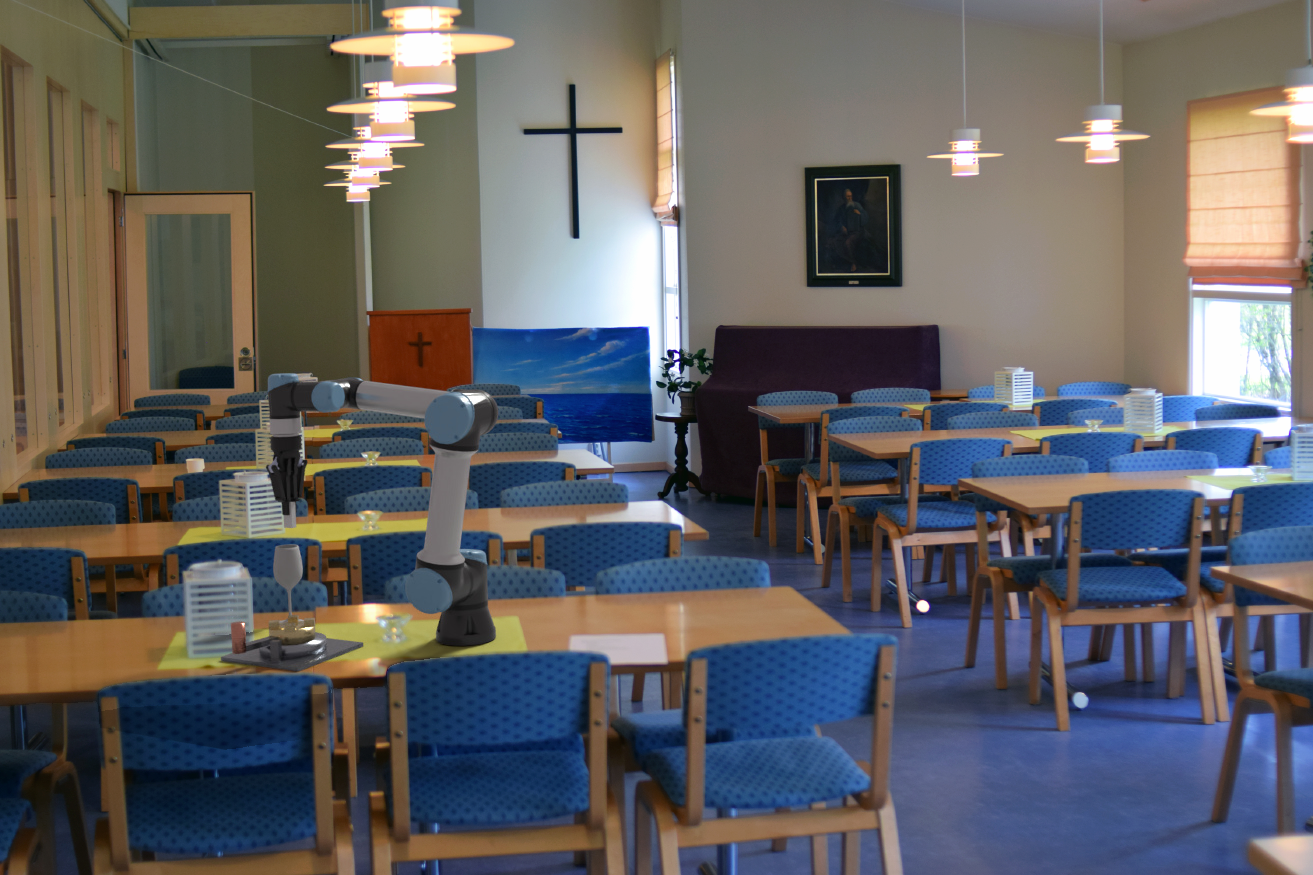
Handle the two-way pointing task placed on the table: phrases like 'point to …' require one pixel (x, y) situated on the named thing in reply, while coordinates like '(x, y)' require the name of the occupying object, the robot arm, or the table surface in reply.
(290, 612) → the wineglass
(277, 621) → the tan handled round piece
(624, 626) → the table surface
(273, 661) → the housing
